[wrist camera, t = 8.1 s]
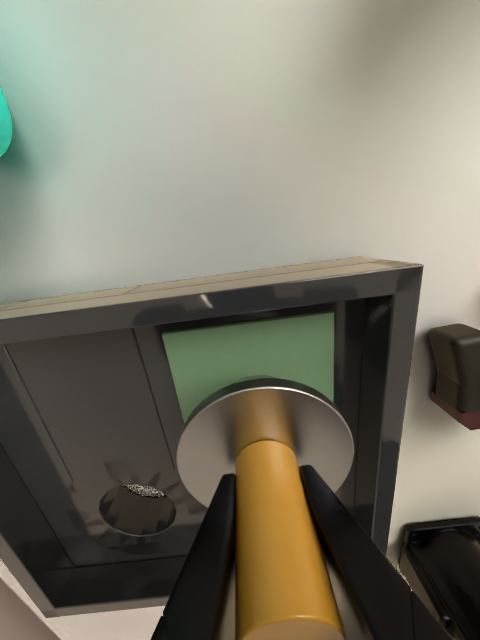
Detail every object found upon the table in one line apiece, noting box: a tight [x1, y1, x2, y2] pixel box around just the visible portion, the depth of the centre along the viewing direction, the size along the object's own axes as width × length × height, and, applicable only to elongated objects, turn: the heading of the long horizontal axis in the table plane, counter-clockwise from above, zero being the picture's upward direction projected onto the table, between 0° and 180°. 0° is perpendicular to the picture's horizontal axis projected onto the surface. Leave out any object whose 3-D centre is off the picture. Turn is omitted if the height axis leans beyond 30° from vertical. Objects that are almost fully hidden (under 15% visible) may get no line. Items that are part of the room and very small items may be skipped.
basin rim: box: [0, 260, 423, 618], centre depth 13 cm, size 22×20×2 cm
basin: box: [0, 257, 385, 568], centre depth 15 cm, size 22×20×2 cm
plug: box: [177, 375, 354, 640], centre depth 8 cm, size 6×6×7 cm
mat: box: [162, 311, 334, 424], centre depth 12 cm, size 8×8×1 cm
